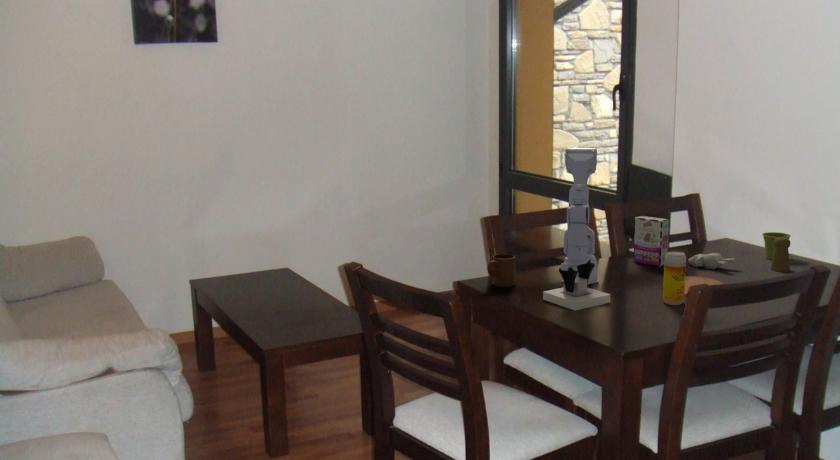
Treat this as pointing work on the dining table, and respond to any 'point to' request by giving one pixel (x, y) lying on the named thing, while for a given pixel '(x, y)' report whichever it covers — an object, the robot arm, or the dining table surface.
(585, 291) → the plug
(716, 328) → the dining table surface
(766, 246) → the plant pot
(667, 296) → the yellow supplement bottle
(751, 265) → the dining table surface
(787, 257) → the olive tall rounded piece
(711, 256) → the bunny figurine
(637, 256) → the candy bar box
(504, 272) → the mug
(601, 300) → the socket
